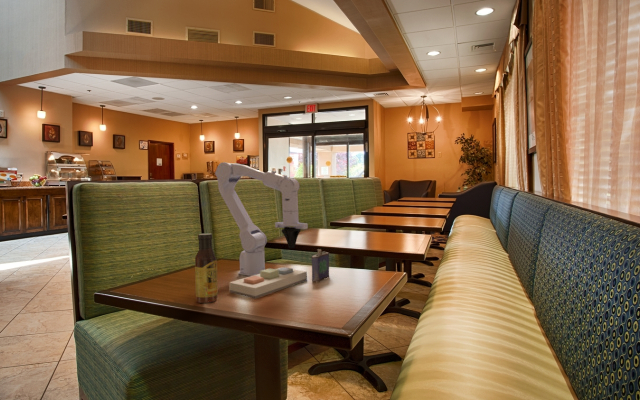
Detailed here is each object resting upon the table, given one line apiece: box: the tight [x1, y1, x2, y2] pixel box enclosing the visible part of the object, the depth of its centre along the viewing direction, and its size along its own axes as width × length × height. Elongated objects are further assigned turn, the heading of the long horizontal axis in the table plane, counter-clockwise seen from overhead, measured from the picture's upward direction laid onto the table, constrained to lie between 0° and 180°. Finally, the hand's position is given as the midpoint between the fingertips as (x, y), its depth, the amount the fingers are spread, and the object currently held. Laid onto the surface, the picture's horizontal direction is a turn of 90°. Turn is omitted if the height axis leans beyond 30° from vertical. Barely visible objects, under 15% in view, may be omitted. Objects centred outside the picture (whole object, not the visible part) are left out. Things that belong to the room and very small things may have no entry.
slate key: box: [275, 266, 294, 275], centre depth 128 cm, size 4×4×3 cm
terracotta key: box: [244, 276, 264, 285], centre depth 117 cm, size 4×4×3 cm
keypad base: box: [228, 266, 308, 299], centre depth 123 cm, size 12×24×3 cm, turn 142°
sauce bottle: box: [194, 233, 219, 304], centre depth 109 cm, size 7×6×20 cm
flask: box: [311, 248, 330, 283], centre depth 130 cm, size 9×3×11 cm, turn 146°
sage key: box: [260, 267, 279, 279], centre depth 122 cm, size 4×4×3 cm
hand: (291, 247), depth 135 cm, fingers closed
